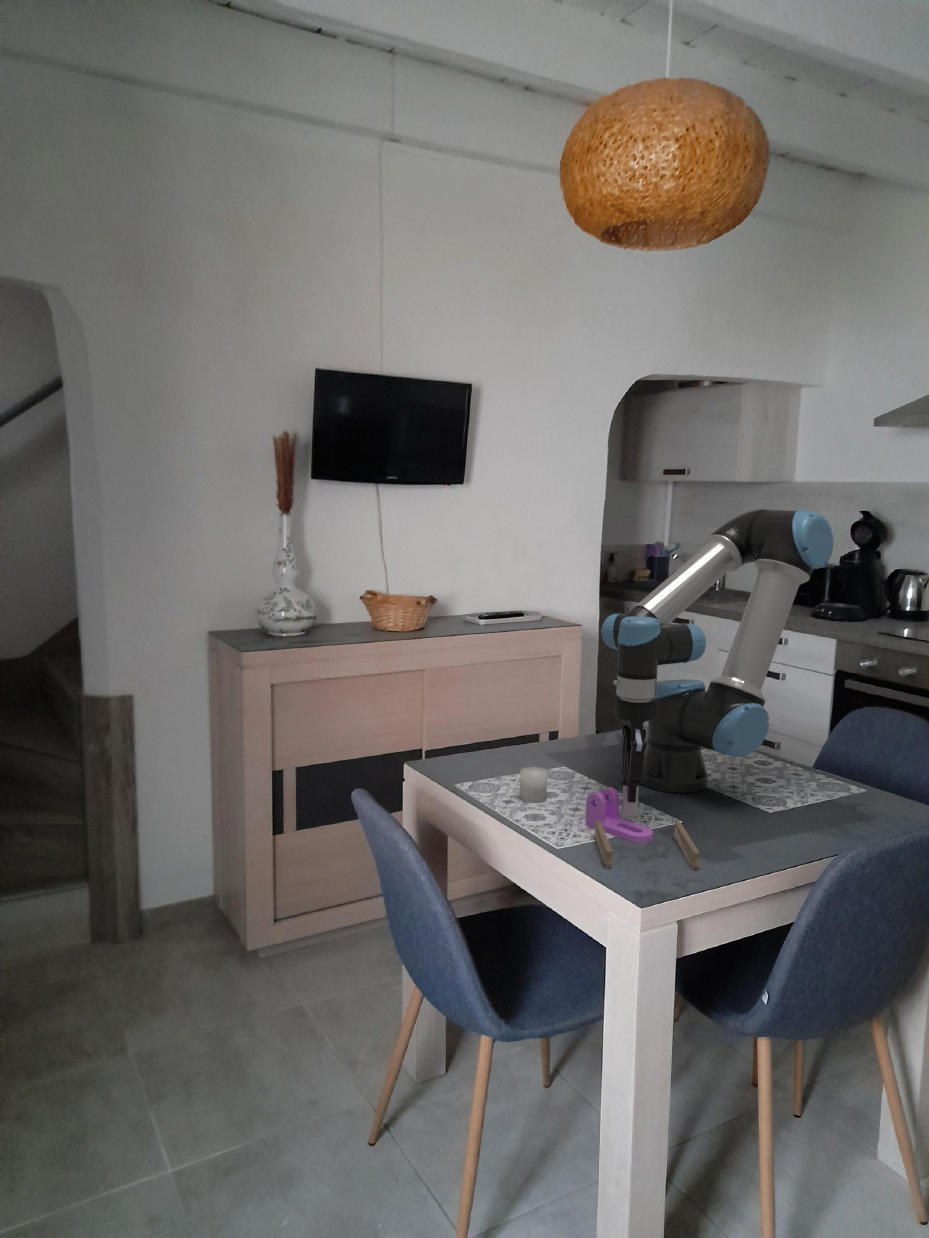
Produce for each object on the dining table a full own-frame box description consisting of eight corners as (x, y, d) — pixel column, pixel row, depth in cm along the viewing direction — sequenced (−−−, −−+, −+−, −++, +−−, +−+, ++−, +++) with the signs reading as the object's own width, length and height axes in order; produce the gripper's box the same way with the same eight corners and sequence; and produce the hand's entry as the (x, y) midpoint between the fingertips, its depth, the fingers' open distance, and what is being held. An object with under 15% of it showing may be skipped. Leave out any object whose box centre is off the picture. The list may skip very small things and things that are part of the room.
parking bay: (679, 837, 166) (680, 822, 166) (698, 869, 152) (699, 852, 152) (594, 836, 166) (594, 820, 166) (605, 867, 152) (606, 851, 152)
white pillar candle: (545, 793, 189) (546, 766, 188) (547, 803, 183) (548, 775, 182) (519, 793, 189) (519, 766, 188) (520, 802, 183) (521, 774, 182)
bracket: (585, 825, 171) (586, 791, 170) (603, 818, 175) (604, 785, 174) (640, 846, 162) (642, 809, 161) (658, 838, 166) (660, 802, 165)
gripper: (610, 689, 175) (605, 803, 179) (621, 705, 163) (615, 827, 166) (648, 690, 175) (642, 804, 179) (662, 706, 162) (655, 829, 166)
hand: (629, 815), depth 172 cm, fingers closed
